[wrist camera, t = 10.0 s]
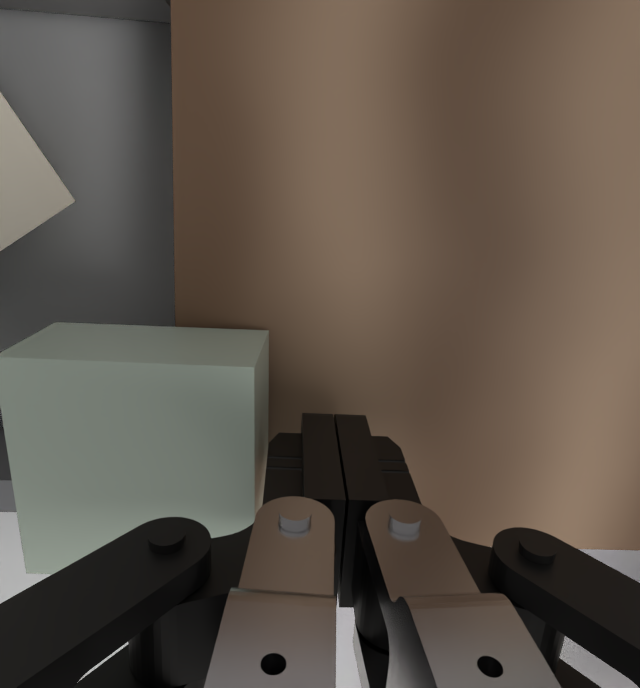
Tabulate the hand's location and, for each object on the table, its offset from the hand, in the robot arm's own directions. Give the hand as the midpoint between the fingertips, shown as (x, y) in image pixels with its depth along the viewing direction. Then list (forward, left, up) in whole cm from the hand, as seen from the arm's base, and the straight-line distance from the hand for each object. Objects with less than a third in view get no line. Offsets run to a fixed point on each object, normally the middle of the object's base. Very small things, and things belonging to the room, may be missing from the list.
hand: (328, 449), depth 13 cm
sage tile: (+4, 0, -1) cm, 4 cm away
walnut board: (-3, -4, -5) cm, 7 cm away
